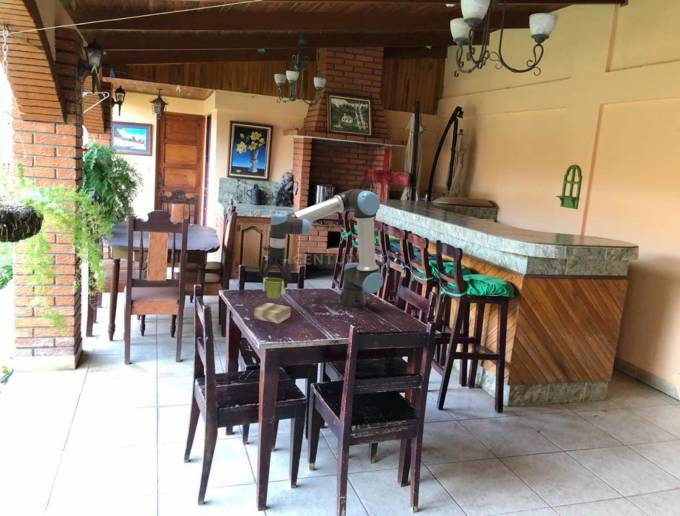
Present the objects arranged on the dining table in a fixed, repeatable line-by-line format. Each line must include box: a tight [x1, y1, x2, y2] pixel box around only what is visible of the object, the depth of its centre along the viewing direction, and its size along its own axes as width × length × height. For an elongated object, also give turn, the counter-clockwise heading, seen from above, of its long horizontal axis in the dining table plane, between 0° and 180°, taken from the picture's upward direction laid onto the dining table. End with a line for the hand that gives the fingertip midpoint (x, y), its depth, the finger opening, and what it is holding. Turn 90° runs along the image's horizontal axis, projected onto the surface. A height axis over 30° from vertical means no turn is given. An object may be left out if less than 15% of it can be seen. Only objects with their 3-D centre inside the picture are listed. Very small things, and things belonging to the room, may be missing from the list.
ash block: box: [253, 302, 292, 324], centre depth 257 cm, size 13×13×5 cm
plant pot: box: [265, 277, 284, 300], centre depth 255 cm, size 9×9×9 cm
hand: (273, 292), depth 255 cm, fingers closed on plant pot, 9 cm apart
